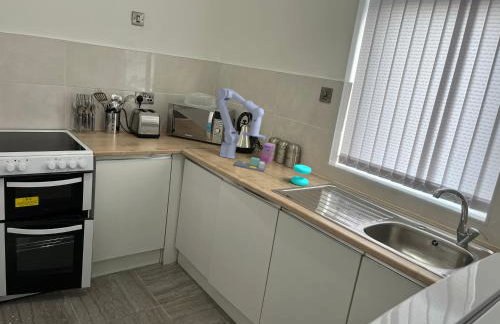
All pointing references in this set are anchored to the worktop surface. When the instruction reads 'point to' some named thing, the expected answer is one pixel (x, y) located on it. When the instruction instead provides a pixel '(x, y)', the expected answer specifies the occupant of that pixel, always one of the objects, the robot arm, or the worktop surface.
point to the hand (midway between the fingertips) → (251, 148)
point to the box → (267, 152)
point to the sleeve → (254, 161)
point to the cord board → (252, 167)
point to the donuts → (298, 179)
